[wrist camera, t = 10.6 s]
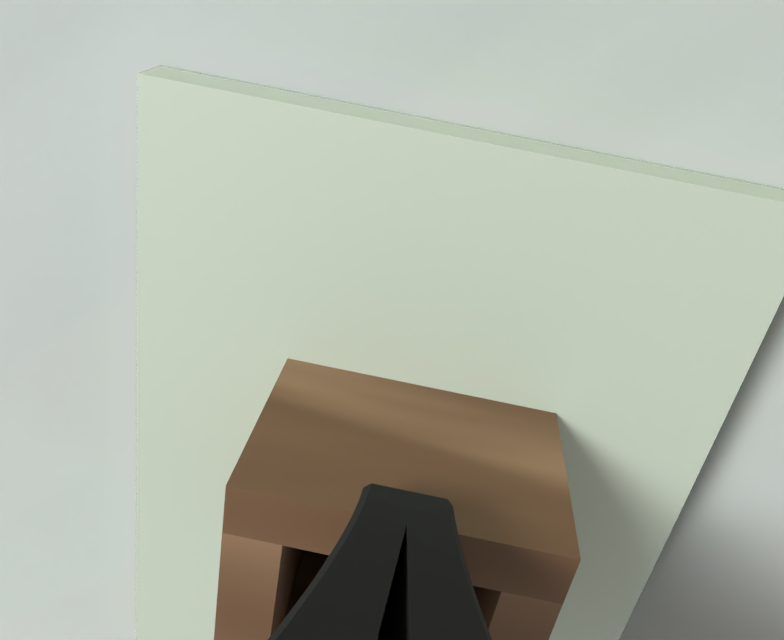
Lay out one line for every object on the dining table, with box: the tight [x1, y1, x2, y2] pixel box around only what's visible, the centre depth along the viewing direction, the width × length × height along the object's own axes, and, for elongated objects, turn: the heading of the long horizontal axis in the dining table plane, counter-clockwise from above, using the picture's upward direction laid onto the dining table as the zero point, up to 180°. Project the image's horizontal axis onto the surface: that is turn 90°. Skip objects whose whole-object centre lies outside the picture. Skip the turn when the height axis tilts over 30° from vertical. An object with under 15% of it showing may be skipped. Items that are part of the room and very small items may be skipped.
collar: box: [214, 358, 581, 640], centre depth 14 cm, size 6×6×4 cm
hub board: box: [136, 66, 784, 640], centre depth 15 cm, size 16×12×5 cm
